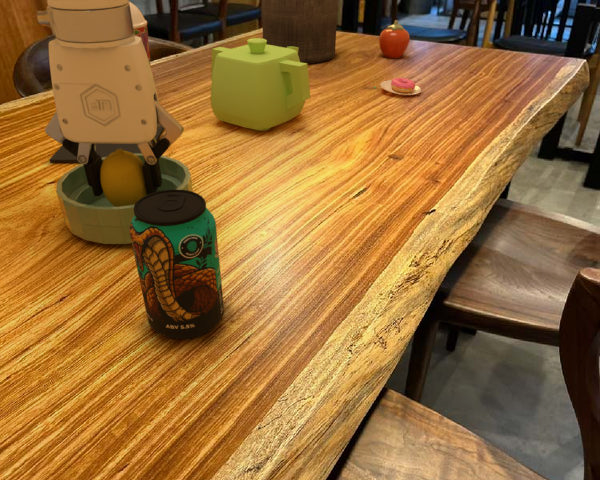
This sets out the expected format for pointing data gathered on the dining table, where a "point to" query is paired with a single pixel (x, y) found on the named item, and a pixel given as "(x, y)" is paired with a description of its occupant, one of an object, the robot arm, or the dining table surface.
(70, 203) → the bowl
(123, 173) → the lemon
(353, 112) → the dining table surface
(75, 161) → the mat
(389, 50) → the tomato
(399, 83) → the donut
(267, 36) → the planter
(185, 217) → the beverage can
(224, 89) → the teapot
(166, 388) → the dining table surface
